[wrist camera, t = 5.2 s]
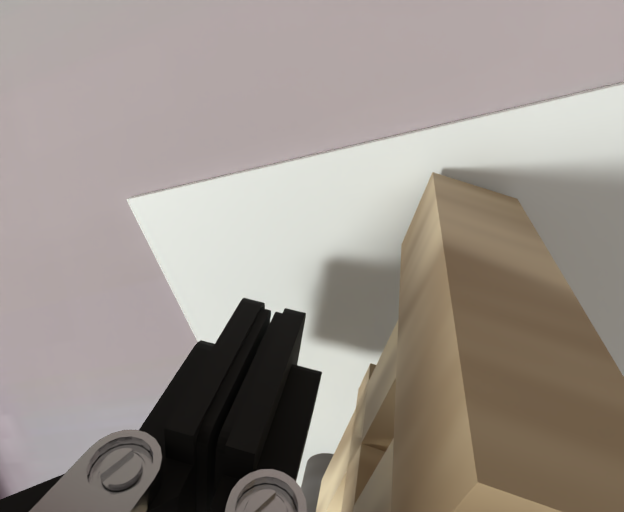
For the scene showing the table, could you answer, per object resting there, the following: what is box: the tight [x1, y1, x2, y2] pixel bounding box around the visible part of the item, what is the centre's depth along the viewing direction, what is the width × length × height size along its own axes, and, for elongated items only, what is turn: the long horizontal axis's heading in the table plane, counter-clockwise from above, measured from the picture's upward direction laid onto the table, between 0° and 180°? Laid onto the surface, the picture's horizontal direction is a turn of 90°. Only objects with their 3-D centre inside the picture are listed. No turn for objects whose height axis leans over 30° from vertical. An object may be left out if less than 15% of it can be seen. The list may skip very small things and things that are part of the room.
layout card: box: [127, 82, 624, 487], centre depth 15 cm, size 24×16×1 cm
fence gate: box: [316, 172, 624, 512], centre depth 9 cm, size 11×2×8 cm, turn 166°
